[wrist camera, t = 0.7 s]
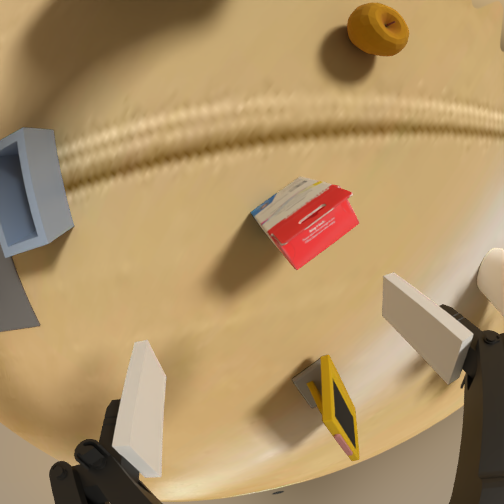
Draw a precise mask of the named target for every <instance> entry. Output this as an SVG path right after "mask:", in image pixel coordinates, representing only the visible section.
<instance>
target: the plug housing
mask: <svg viewBox="0 0 504 504" xmlns="http://www.w3.org/2000/svg"><path fill="white" fill-rule="evenodd" d="M72 227H74V224H73V220H72V216H71V213H70V209H69V205H68V201H67V197H66V193H65V189H64V185H63V180H62V175H61V171H60V166H59V161H58V155H57V149H56V143H55V137H54V130H51V129H39V128H26V127H23V128H21V129H19V130H17V131H15V132H14V133H12V134H10V135H8V136H7V137H5V138H3V139H2V140H0V244H1V247H2V250H3V253H4V256H5V258H7V257H10V256H13V255H16V254H19V253H22V252H25V251H28V250H31V249H34V248H37V247H40V246H43V245H46V244H49V243H50V242H52V241H53V240H55V239H56V238H58V237H59V236H60V235H62V234H63V233H65V232H66V231H68V230H69V229H71V228H72Z"/></svg>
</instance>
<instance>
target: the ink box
mask: <svg viewBox="0 0 504 504" xmlns="http://www.w3.org/2000/svg"><path fill="white" fill-rule="evenodd" d="M352 195H353V193H351V192H350V191H347V190H344V189H341V187H340V186H337V185H333V184H329V183H325V182H321V181H317V180H313V179H309V178H305V177H298V178H297V179H296V180H294V181H293V182H291V183H290V184H289V185H287V186H286V187H284V188H283V189H282V190H280V191H279V192H278V193H276V194H275V195H273V196H272V197H271V198H269V199H268V200H266V201H265V202H264V203H262V204H261V205H260V206H258V207H257V208H256V209H254V210H253V211H252V212H251V214H252V216H253V217H254V218H255V220H256V221H257V222H258V224H259V225H260V227H261V228H262V229H263V231H264V232H265V233H266V235H267V236H268V237H269V238H270V240H271V241H272V242H273V243H274V245H275V246H276V247H277V248H278V249H279V251H280V252H281V253H282V254H283V255H284V256H285V258H286V259H287V260H288V261H289V262H290V264H291V265H292V266H293V267H294V268H295V269H296V270H298V269H299V268H301V267H302V266H303V265H305V264H306V263H307V262H309V261H310V260H311V259H313V258H314V257H315V256H317V255H318V254H319V253H321V252H322V251H324V250H325V249H326V248H328V247H329V246H330V245H331V244H333V243H334V242H335V241H337V240H338V239H340V238H341V237H342V236H343V235H345V234H346V233H347V232H349V231H350V230H351V229H353V228H354V227H355V226H356V225H358V224H359V221H358V219H357V217H356V215H355V213H354V211H353V209H352V207H351V205H350V203H349V201H348V200H347V199H348V198H349V197H351V196H352Z"/></svg>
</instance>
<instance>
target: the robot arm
mask: <svg viewBox="0 0 504 504" xmlns="http://www.w3.org/2000/svg"><path fill="white" fill-rule="evenodd" d="M382 316H383V317H384V318H385V319H386V320H387V321H388V322H389V323H390V324H391V325H392V326H393V327H394V328H395V329H396V330H397V331H398V332H399V333H400V335H401V336H402V337H403V338H404V339H405V340H406V341H407V342H408V343H409V344H410V345H411V346H412V347H413V348H414V349H415V350H416V351H417V352H418V353H419V354H420V355H421V356H422V357H423V359H424V360H425V361H426V362H427V363H428V364H429V365H430V366H431V367H432V368H433V369H434V370H435V371H436V372H437V374H438V375H439V376H440V377H441V378H442V379H443V380H444V381H445V382H446V383H447V385H449V384H450V383H452V382H453V381H455V380H456V379H458V378H459V376H460V374H461V371H462V369H463V370H464V371H465V372H466V374H465V377H464V379H463V382H462V384H461V388H463V386H464V384H465V390H464V415H463V428H462V439H461V446H460V454H459V461H458V466H457V473H456V478H455V482H454V487H453V492H452V496H451V500H450V502H449V504H504V333H502V334H498V333H496V332H494V331H490V330H487V331H483V332H482V331H481V330H480V329H478V328H477V327H476V326H475V325H473V324H472V323H471V322H470V321H468V320H467V319H466V318H463V316H462V315H461V314H458V312H457V311H455V310H454V309H453V308H451V307H449V306H446V305H443V304H442V305H440V306H438V305H437V304H436V303H434V302H433V301H432V300H431V299H429V298H428V297H427V296H425V295H424V294H423V293H421V292H420V291H419V290H417V289H416V288H415V287H413V286H412V285H411V284H409V283H408V282H407V281H405V280H404V279H403V278H401V277H400V276H398V275H397V274H396V273H394V272H393V273H390V274H387V275H385V276H383V305H382ZM165 388H166V375H165V373H164V371H163V369H162V367H161V365H160V363H159V361H158V360H157V358H156V356H155V354H154V352H153V350H152V348H151V346H150V344H149V341H148V340H144V341H139V342H135V343H134V347H133V351H132V355H131V359H130V363H129V367H128V371H127V375H126V379H125V383H124V388H123V392H122V397H121V399H119V400H112V401H111V403H110V404H109V406H108V407H107V409H106V413H105V419H104V422H103V426H102V431H101V435H100V440H99V442H98V441H96V440H93V439H86V440H84V441H82V442H81V443H80V444H79V445H77V447H76V449H75V453H74V456H75V459H76V461H78V462H79V463H80V465H76V466H71V465H69V464H68V463H67V462H64V461H60V462H57V463H55V464H54V465H53V466H52V467H51V469H50V473H49V477H50V482H51V487H52V492H53V496H54V500H55V504H162V503H161V502H160V501H159V500H158V499H157V498H156V497H155V495H154V494H153V493H152V492H151V491H150V490H149V489H148V488H147V487H146V486H145V485H144V484H143V483H142V482H141V481H140V480H139V472H140V473H141V474H142V475H143V476H144V477H145V478H146V477H161V476H162V437H163V417H164V401H165ZM109 502H110V503H109Z"/></svg>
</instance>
